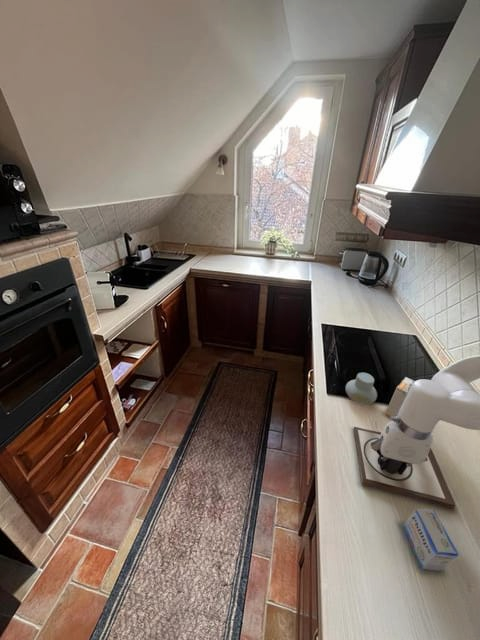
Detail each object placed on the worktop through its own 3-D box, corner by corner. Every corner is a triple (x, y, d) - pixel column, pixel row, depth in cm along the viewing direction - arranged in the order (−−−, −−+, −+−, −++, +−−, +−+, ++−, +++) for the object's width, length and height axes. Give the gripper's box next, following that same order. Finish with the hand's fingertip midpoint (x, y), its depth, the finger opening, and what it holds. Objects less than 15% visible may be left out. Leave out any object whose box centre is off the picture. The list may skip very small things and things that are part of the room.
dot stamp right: (395, 462, 73) (401, 451, 71) (399, 475, 70) (405, 465, 67) (380, 458, 74) (385, 447, 71) (383, 471, 71) (389, 461, 68)
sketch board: (427, 445, 80) (429, 442, 79) (453, 508, 65) (456, 505, 64) (353, 429, 84) (354, 426, 84) (361, 484, 69) (363, 481, 68)
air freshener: (374, 394, 98) (382, 375, 94) (374, 410, 92) (382, 389, 87) (345, 385, 102) (350, 366, 97) (342, 399, 96) (349, 379, 91)
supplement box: (398, 422, 87) (412, 395, 81) (384, 413, 90) (396, 386, 84) (407, 410, 92) (420, 383, 86) (393, 402, 95) (405, 376, 89)
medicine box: (401, 526, 61) (414, 507, 57) (420, 526, 61) (434, 508, 57) (421, 570, 54) (437, 553, 50) (442, 571, 54) (460, 554, 50)
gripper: (380, 428, 61) (360, 472, 70) (459, 446, 58) (427, 489, 67) (374, 405, 68) (356, 448, 77) (444, 419, 64) (417, 462, 73)
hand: (389, 466), depth 72 cm, fingers closed on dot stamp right, 4 cm apart
